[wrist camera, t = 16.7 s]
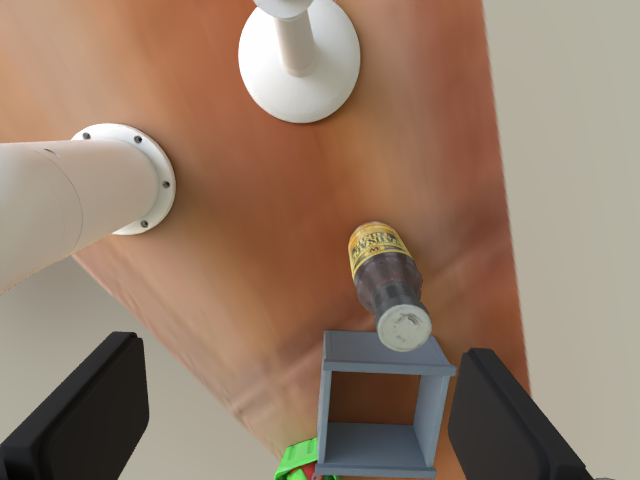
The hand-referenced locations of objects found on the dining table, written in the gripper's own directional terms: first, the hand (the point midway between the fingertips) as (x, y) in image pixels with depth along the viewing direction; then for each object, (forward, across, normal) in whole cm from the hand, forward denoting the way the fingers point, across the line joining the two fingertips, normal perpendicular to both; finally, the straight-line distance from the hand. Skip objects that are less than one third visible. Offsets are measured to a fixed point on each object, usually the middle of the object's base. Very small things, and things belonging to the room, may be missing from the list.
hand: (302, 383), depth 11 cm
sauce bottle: (+34, -8, +6) cm, 36 cm away
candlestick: (+34, +2, -14) cm, 37 cm away
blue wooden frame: (+34, -10, +26) cm, 44 cm away
